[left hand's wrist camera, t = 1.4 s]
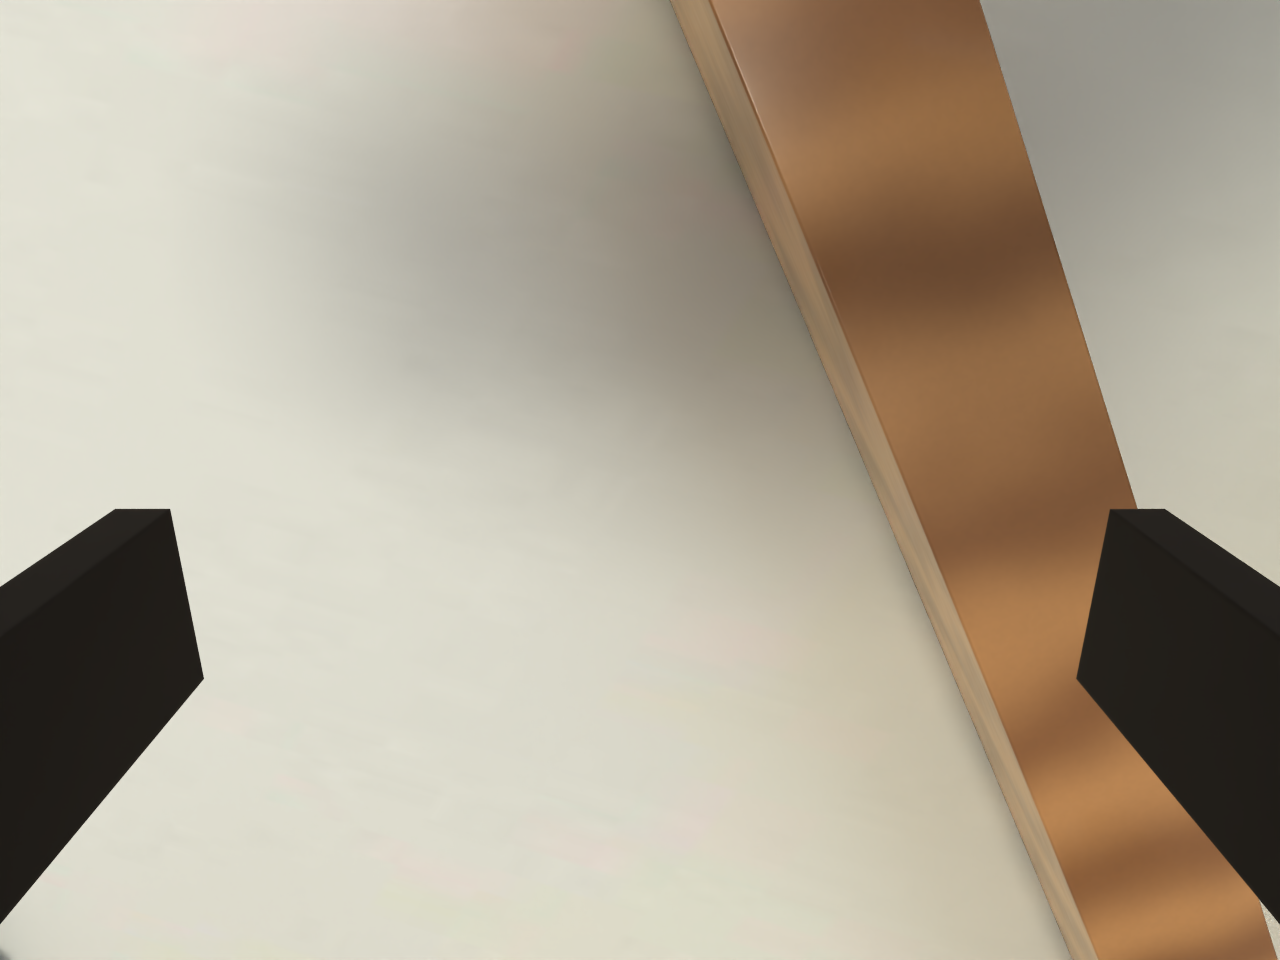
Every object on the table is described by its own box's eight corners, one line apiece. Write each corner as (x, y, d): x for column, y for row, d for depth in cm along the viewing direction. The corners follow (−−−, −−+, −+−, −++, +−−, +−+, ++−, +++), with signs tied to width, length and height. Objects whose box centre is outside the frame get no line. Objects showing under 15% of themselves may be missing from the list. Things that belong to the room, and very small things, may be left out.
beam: (558, -265, 25) (524, -453, 17) (738, -373, 24) (788, -623, 16) (1186, 1230, 49) (1292, 1437, 41) (1288, 1200, 48) (1417, 1406, 40)
